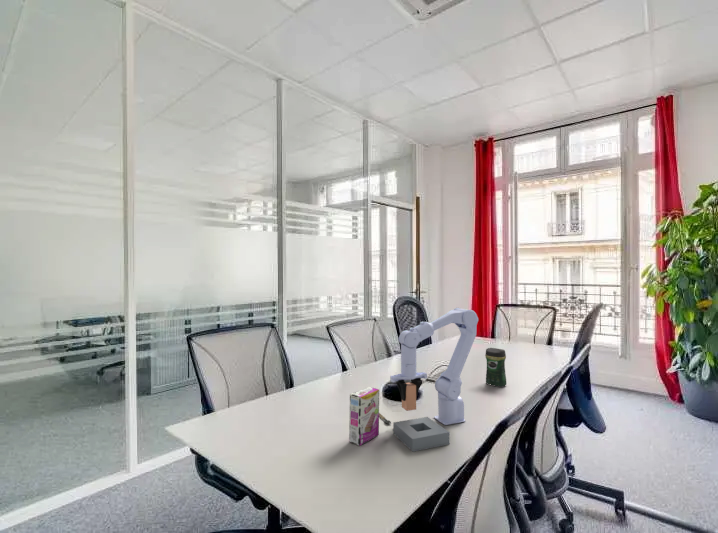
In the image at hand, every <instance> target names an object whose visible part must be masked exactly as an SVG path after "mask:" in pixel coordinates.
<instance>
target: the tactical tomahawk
mask: <svg viewBox="0 0 718 533" xmlns="http://www.w3.org/2000/svg"><path fill="white" fill-rule="evenodd" d="M379 419H381V421H382V422H384V423H385V424H387V425H389V424H390V425H391V424H392V421H391V420H388V419H386V417H385V416H383V415H382V413H380V412H379Z"/></svg>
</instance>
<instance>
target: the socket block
mask: <svg viewBox="0 0 718 533" xmlns="http://www.w3.org/2000/svg"><path fill="white" fill-rule="evenodd" d="M392 424H393V428H392V429H393V432H392V433H393V435H394V436H395V438H397V439H398V440H399V441H400V442H402V443H403V444H404V446H406V447H407V448H408V449H409V450H410V451H411V452H417V451H423V450H426V449H427V450H428V449H432V448H437V447H441V446H442V447H443V446H448V445H450V431H449V430H447V429H445V428H444V427H443V426H442V425H440V424H438V423H437V422H435V421H434V420H432V419H431V418H430V417H429V416H424V417H418V418H412V419H405V420H400V421H394V422H393V423H392Z"/></svg>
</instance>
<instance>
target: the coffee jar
mask: <svg viewBox="0 0 718 533" xmlns="http://www.w3.org/2000/svg"><path fill="white" fill-rule="evenodd" d="M484 356H485V359H486V360H485V361H486V371H485V372H486V374H485V384H487V383H488V384H491V385H495V386H494V387H496V386H500V387H499V388H501V387H502V386H504V387H506V386H507V376H506V367H505V366H506V364H505V362H506V358H507V355H506V351H505V349H503V348H502V349H501V348H494V347H488V348H486V349H485V355H484ZM488 384H487V385H488ZM491 385H490V386H491ZM505 385H506V386H505ZM502 388H503V387H502Z"/></svg>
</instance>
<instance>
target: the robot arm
mask: <svg viewBox="0 0 718 533" xmlns="http://www.w3.org/2000/svg"><path fill="white" fill-rule="evenodd" d="M478 322H479V317H478V314H477V313H476V312H475V311H474V310H472V309H466V308H461V307H456V308H453V309H450V310H449V311H448V312H446V313H444V314H443V315H441V316H439V317H438V318H436V319H434V320H433V321H431V322H428V321H423V320H422V321H420V322H419V324H418V325H416V326H414V327H410V328H409V330H403V331H401V332H400V334H399V336H398V337H397V340H398V342H399V344H400V367H401V368H400V371H401V372H400V373H398V374H393V375H390V380H389V381H390V382H391V383H395V384H396V386H397V388H398V391H399V393H400V398H401V401H402V400H403V401H405V400H406V387H407V384H406V383H407V382H405V381H410V382H411V383H413V384H415V385H416V400H417V399H418V393H419V392H420V388H421V386H422V385H423V380H422V379H425V380H426V379H428V374H427V372H423V371H422V372H417V347H418V346H419V344H420V343H421V342H422V341H424V340H426V339H428V338H429V337H431V336H433V335H434V332H435V331H437V330H439V329H441V328H443V327H446V326H448V325H450V324H455V326H456V327H457V328H458V329H459V332H460V336H459V337H458V338H459V339H458V341H457V344H456V346H455V348H454V351H453V352H452V355H451V358H450V360H449V363H448V364H447V367H446V370H443V372H441V374H440V375H439V377H438V378H437V379H436V380H435V383H434V388H435V390H436V391H437V399H438V400H437V402H438V403H437V404H438V405H437V408H438V409H437V410H438V412H437V415H435V416H433V419H435V420H437V422H440V423H441V424H442V425H444V426H449V425H453V424H459V423H464V422H466V419H465V403H464V400H463V398H462V397H461V396H460V395H461V392H462V391H461V389H462V385H463V382H462V378H461V374H462V373H463V369H464V367H465V364H466V362H467V359H468V356H469V354H470V352H471V349H472V347H473V344H474V342H475V339H476V337H477V325H478Z"/></svg>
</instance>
